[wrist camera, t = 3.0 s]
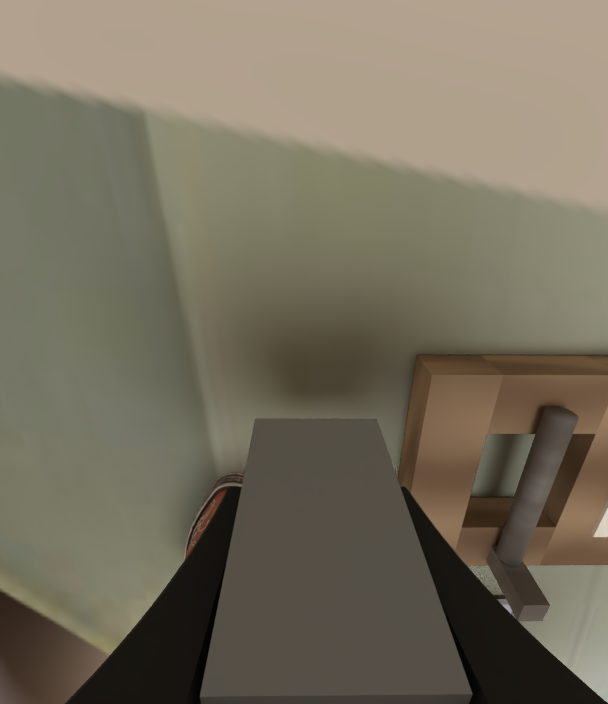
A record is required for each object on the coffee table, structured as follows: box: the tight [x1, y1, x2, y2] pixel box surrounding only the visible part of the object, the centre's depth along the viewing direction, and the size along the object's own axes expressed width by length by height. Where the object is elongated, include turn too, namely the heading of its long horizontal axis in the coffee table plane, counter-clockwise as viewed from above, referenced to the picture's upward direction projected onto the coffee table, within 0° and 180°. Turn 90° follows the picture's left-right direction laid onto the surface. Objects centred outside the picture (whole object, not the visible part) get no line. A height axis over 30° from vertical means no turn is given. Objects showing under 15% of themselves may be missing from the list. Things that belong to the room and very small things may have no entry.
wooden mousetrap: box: [398, 355, 608, 621], centre depth 17 cm, size 12×18×5 cm, turn 89°
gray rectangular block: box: [200, 419, 473, 704], centre depth 9 cm, size 4×4×7 cm
